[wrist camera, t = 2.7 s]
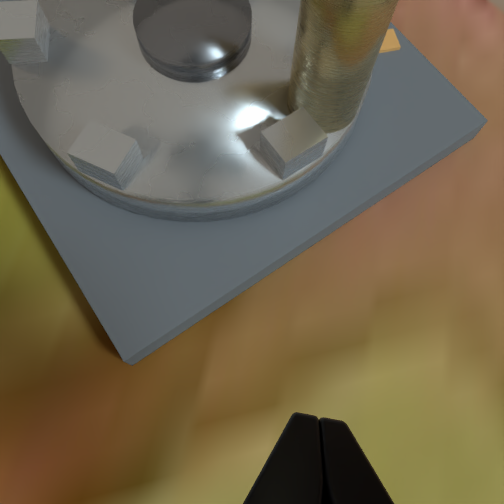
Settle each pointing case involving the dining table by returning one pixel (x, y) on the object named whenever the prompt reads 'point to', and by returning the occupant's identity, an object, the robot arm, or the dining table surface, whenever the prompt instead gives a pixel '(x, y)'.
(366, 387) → the dining table surface
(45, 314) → the dining table surface
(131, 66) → the metal disc with post
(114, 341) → the housing plate
